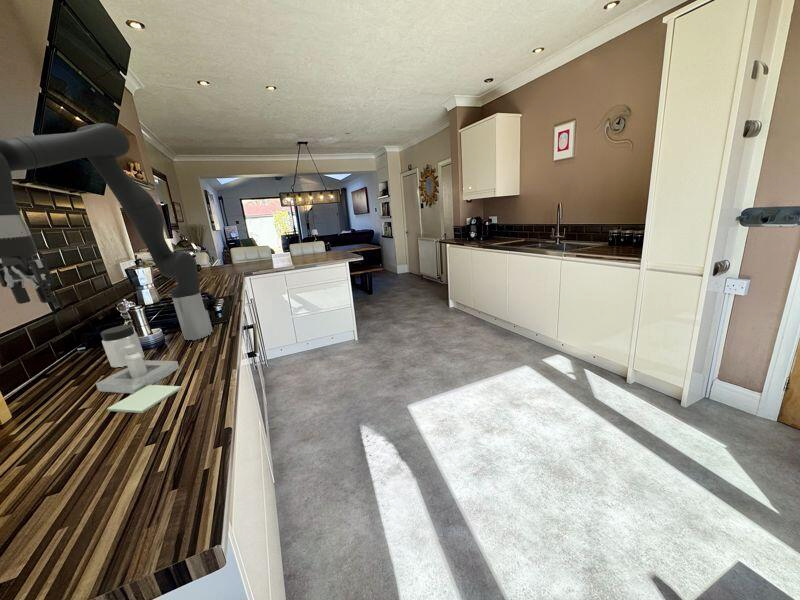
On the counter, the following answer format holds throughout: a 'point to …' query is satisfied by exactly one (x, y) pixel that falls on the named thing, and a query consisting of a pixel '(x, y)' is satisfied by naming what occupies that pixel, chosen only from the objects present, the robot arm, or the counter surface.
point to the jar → (119, 344)
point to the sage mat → (144, 399)
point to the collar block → (125, 384)
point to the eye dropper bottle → (134, 361)
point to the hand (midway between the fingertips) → (36, 302)
